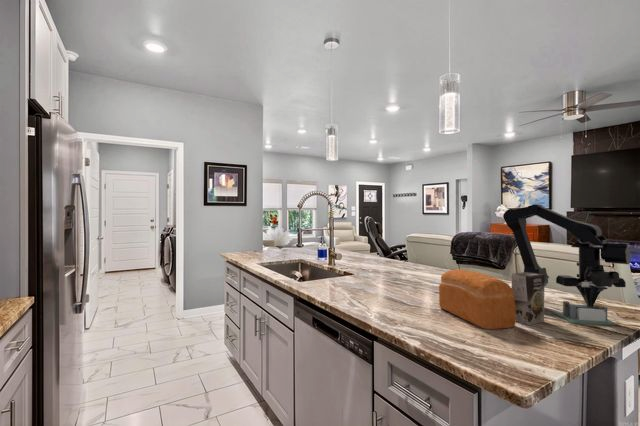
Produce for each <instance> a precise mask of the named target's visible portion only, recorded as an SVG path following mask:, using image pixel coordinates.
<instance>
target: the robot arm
mask: <svg viewBox="0 0 640 426" xmlns="http://www.w3.org/2000/svg"><path fill="white" fill-rule="evenodd" d="M534 216H536V217H539V218H540V219H543V220H545V221H548V222H550V223H552V224H554V225H555V226H558V227H561V228H562V229H565V230H566V231H568V233H570V234H571V235H572V236H573V237H575V238H577V239H578V240H576V241H575V242H574V243H573V244H572V245H571V248H578V262H576V266H578V273H576V277H574V276H571V275H562V274H561V275H557V276H556V278H555V283H556V284H559V285H561V286H564V287H575V288H576V289H577V290H578V292H579V293H580V295H581V296H582V298H583V301H584V302H585V304H587V306H593V305H594V303H596V301H597V299H598V297H599V295H600V294H601V293H602V292H603V291H605V290H607V289H608V288H612V286H614V287H615V288H626V285H627V284H626V281H625V279H624V278H623V277H620V273H619V272H617V271H605V268H604V265H602V264H601V260H602V261H604V262H605V263H606V264H608V263H609V264H621V265H628V266H629V265H630V264H631V261H632V252H631V250H630V247H629V243H627V242H622V243H619V242H617V243H616V242H610V241H609V240H608V239H607V238H606V237H605V236H604V235H603V231H602V229H601V227H599V226H598V225H596V224H592V223H588V222H583V221H579V220H576V219H573V218H570V217H567V216H566V215H563V214H561V213H560V212H559V213H558V212H556V211H554V210H552V209H549V208H547V207H545V206H543V205H541V204H538V203H535V204H533V203H532V204H530V205H528V206H524V207H519V208H510V209H509V208H508V209H507V210H505V211H504V213H503V215H502V217H503V220H504V222H505V223H506V226H507V228H509V230H510V231H511V232H512V234H513V237H514V240H515V242H516V246H517V248H518V252H519V255H520V259H521V260H522V263H523V272H529V273H538V274H544V275H545V277H544V278H545V279H544V288H545V287H546V286H547V285H548V284H549V279H550V276H549V275H548V273H547V269H546V267H541V266H540V264H539V263H538V260H537V258H536V255H535V252H534V249H533V246H532V244H531V241H530V238H529V235H528V232H527V219H528V218H529V219H530V218H532V217H534Z"/></svg>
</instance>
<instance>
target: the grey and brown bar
mask: <svg viewBox="0 0 640 426" xmlns="http://www.w3.org/2000/svg"><path fill="white" fill-rule="evenodd" d="M602 305H603V304H602V303H600V302H595V303H594V305H593V306H587V305H576V309H578V308H583V309H602ZM566 307H568V308H570V305H568V304H567V305H566Z"/></svg>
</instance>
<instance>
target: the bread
mask: <svg viewBox="0 0 640 426" xmlns="http://www.w3.org/2000/svg"><path fill="white" fill-rule="evenodd" d="M438 299H439V300H438V302H439V303H438V305H439V308H440V309H442V310H444V311H447V312H449V313H450V314H453V315H455V316H457V317H459V318H461V319H462V320H465V321H467V322H469V323H471V324H473V325H475V326H476V327H478V328H479V327H480V328H482V329H485V330H498V329H499V330H500V329H509V328H512V327H513V328H514V327H515V326H516V322H517V321H516V311H515V299H514V296H513V291H512V286H510V284H509V283H507V282H505V281H504V280H501V279H499V278H496V277H493V276H490V275H487V274H485V273H481V272H478V271H477V272H476V271H471V270H468V269H461V268H457V269H450V270H447V271H446V272H444V273H442V275H441V276H440V283H439V286H438Z"/></svg>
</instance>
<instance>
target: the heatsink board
mask: <svg viewBox="0 0 640 426" xmlns="http://www.w3.org/2000/svg"><path fill="white" fill-rule="evenodd" d="M567 304H568V305H570V308H568V307H566V305H567ZM576 305H587V304H586V303H585V304H584V303H583V304H581V303H570V302H569V301H567V300H566V301H565V300H564V301H563V302H562V311H555V312H554V314H555V315H556V316H558V317H560V318H562V319H564V320H565V321H567V322H569V323H570V324H579V325H581V324H582V325H599V326H600V325H601V326H603V325H605V326H616V322H615V321H612V320H610V319H608V306H605V305H603V304H602V309H583V308H578V309H576Z"/></svg>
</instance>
